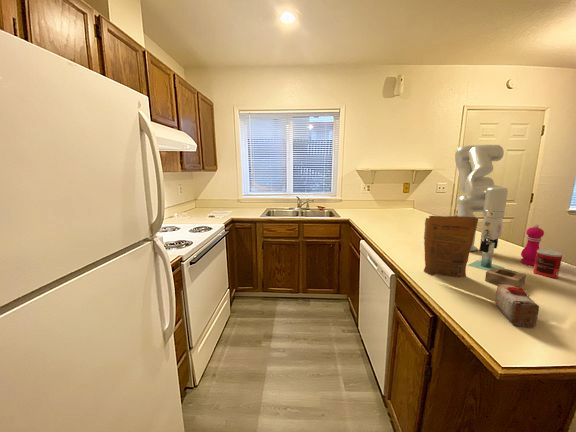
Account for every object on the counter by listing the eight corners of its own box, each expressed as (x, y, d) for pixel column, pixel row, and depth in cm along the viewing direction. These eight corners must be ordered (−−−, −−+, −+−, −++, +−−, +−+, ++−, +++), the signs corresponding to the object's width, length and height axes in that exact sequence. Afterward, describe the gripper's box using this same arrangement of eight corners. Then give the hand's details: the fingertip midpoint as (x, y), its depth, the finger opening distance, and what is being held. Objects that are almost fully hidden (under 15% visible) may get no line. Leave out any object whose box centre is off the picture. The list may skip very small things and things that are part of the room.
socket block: (484, 283, 104) (486, 271, 103) (494, 276, 109) (495, 266, 108) (515, 292, 96) (517, 280, 95) (524, 285, 101) (526, 274, 100)
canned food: (550, 272, 112) (554, 249, 109) (562, 280, 104) (567, 256, 102) (528, 271, 114) (532, 248, 112) (539, 278, 107) (544, 254, 105)
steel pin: (489, 268, 116) (492, 243, 113) (479, 265, 119) (482, 241, 116) (492, 266, 118) (496, 242, 115) (482, 263, 121) (486, 240, 119)
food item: (490, 302, 90) (494, 277, 88) (518, 306, 87) (522, 280, 85) (509, 325, 77) (514, 296, 75) (541, 330, 74) (547, 300, 72)
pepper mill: (543, 267, 118) (551, 226, 114) (526, 266, 119) (533, 226, 115) (532, 261, 125) (539, 222, 121) (516, 260, 126) (522, 222, 122)
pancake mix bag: (471, 283, 104) (480, 218, 98) (420, 274, 113) (425, 215, 108) (469, 277, 110) (477, 215, 104) (420, 269, 119) (425, 212, 113)
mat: (467, 267, 120) (467, 265, 120) (477, 261, 126) (477, 260, 126) (495, 275, 111) (495, 273, 111) (504, 269, 117) (504, 267, 117)
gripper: (495, 218, 105) (490, 255, 109) (510, 213, 115) (505, 248, 118) (475, 215, 112) (470, 251, 115) (491, 210, 121) (486, 244, 124)
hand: (488, 249), depth 117 cm, fingers open, 9 cm apart
